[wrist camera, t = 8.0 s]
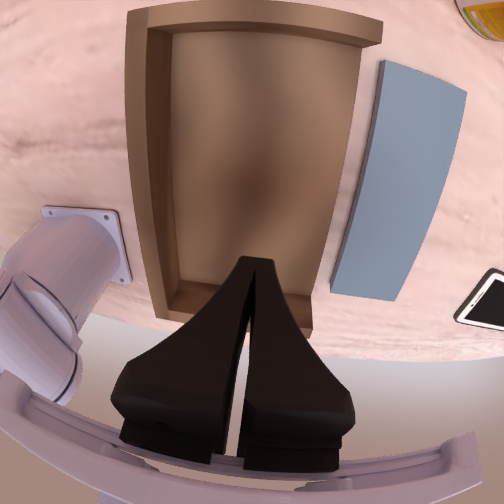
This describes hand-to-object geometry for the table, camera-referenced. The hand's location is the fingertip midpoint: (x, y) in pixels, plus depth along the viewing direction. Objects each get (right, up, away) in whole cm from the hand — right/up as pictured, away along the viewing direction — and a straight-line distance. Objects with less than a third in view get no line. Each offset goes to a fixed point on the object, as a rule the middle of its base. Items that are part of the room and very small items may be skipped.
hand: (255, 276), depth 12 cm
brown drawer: (0, +6, +7) cm, 10 cm away
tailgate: (+7, +6, +7) cm, 11 cm away
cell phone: (+30, -5, +12) cm, 33 cm away
